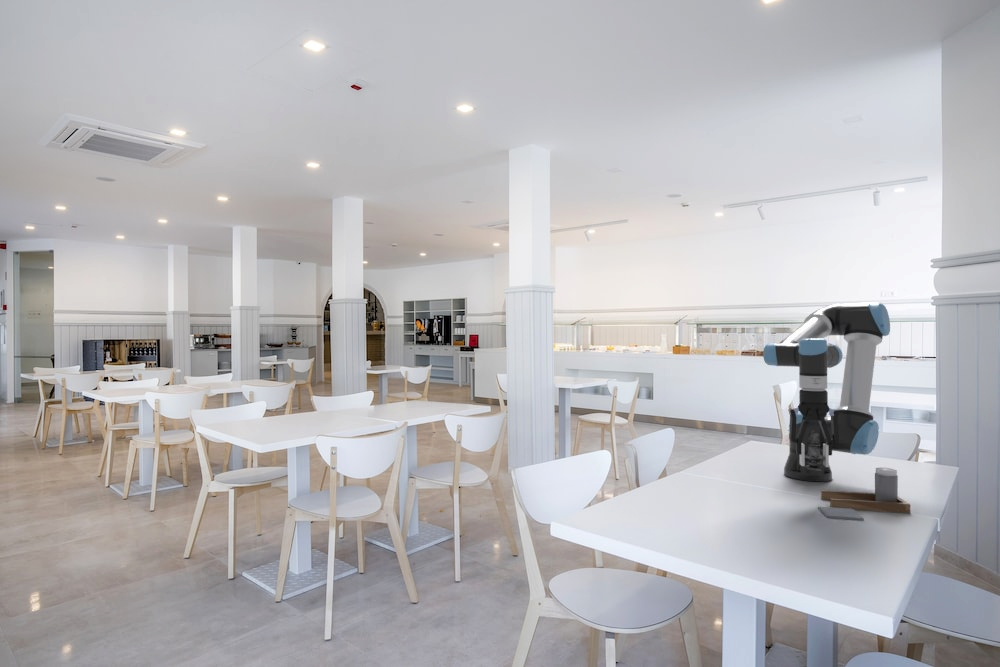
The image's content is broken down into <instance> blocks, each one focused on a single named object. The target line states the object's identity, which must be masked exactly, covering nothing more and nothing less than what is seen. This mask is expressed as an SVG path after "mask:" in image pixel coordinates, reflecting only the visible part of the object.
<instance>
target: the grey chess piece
mask: <svg viewBox="0 0 1000 667" xmlns="http://www.w3.org/2000/svg"><path fill="white" fill-rule="evenodd" d="M812 431H813V432H810V433H809V434H808V443H807V445H808V453H807V454H806V455H805V462H806V463H807V464H809V465H807V466H805V467H804V468H805V469H808V470H814V471H822V470H824V468H822V467H820V466H819V465H821V464H823V461H824V459H825V457H823V456H821V455H820V448H819V446H820V444H819V434H818V433H816V432H815V430H814V429H813V430H812Z"/></svg>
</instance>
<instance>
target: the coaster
mask: <svg viewBox="0 0 1000 667" xmlns="http://www.w3.org/2000/svg"><path fill="white" fill-rule="evenodd" d="M817 509H818V510H819V511H820V512H821V513H822V514H823V515H824V516H825V517H826V518H827V519H839V520H852V521H864V520H865V518H864V517H863V516H862V514H860V513H858V511H857V510H854V509H851V508H836V507H830V506H822V505H821V506H820V505H818V506H817Z"/></svg>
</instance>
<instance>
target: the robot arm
mask: <svg viewBox="0 0 1000 667" xmlns="http://www.w3.org/2000/svg"><path fill="white" fill-rule="evenodd" d="M890 332H891V321H890V316H889V312H888V309H887V307H886V306H885V304H883V303H881V302H870V301H869V302H860V303H859V302H858V303H857V302H856V303H834V304H830V305H826V306H824V307H822V308H819V309H817V310H815V311H814V312H812V313H810V314H809V315H808V316H807V317H805V319H804V320H803V323H802V324H801V325H799V327H797V328H796V329H795V330H794V331H792V332H791V333H789V335H787V336H786V337H785V338H784V339H783V340H781V341H780V342H777V343H776V342H773V343H772V342H771V343H766V344H765V346H764V347H763V351H762V354H763V355H762V356H763V360H764V363H765V364H766V365H768V366H773V367H774V366H775V367H798V368H799V369H798V370H799V371H798V372H799V374H798V375H799V376H798V377H799V379H798V380H799V382H798V383H799V384H798V387H799V388H800V390H799V396H798V397H799V398H798V399H799V401H798V402H799V404H798V406H797V407H796V408H789V409H788V413H789V414H788V415H789V423H788V424H789V425H788V428H789V434H788V440H789V441H788V442H789V443H788V444H789V446H788V447H789V452H788V453H789V454H788V457H787V460H786V462H785V465H784V468H783V474H784V476H786V477H788V478H791V479H795V480H800V481H807V482H827V481H831V480H832V479H833V472H832V469H831V466H830V462H829V460H830V459H829V458H830V456H833V452H840V453H849V454H852V455H869V454H870V453H872V451H874V450H875V448H876V446H877V443H878V439H879V434H880V432H879V429H880V427H879V423H878V422H877V421H875V420H874V415H873V414H872V413H871V412H870V404H871V403H870V402H871V394H872V386H873V379H874V378H873V377H874V368H875V360H876V352H877V346H878V345H879V344H881V343H882V342H883V337H887V336H888V335H890ZM829 336H843V339H844V341H845V342H846V343H847V347H846V348H847V349H846V356H845V364H844V370H843V379H842V386H841V387H842V388H841V394H840V402H839V403H840V404H839V407H838V408H837V407H836V409H835V408H830V406H829V404H828V402H829V400H828V399H829V398H828V390H827V389H828V369H830V368H831V369H832V368H834V367H836V366H837V365H839V364H840V363H841V362H842V360H843V351H842V349H841V348H840V347H839V346H838V345H837V344H834V343H828V342H827V339H825V338H827V337H829ZM828 413H829V415H828ZM813 429H814V430H815V432H816V433H818V434H819V444H820V446H819V448H820V455H821V456H823V457H825V459H824V461H823V464H821V465H819V466H820V467H822V468H824V470H822V471H814V470H808V469H805V468H804V467H805V466H807V465H809V464H807V463H806V462H805V455H806V454H807V453H808V445H807V443H808V434H809V433H810V432H813V431H812V430H813Z"/></svg>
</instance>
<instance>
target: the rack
mask: <svg viewBox="0 0 1000 667" xmlns="http://www.w3.org/2000/svg"><path fill="white" fill-rule="evenodd" d="M820 499H821V500H825V501H826V500H829V503H830V505H829V507H836V508H851V509H853V510H855V511H873V512H885V513H902V514H911V504H910V503H909V502H907V501H906V500H904V499H903V498H901V497H899V496H898V503H897V502H881V501H875V492H874V493H873V492H861V491H860V492H858V491H844V490H843V491H842V490H841V491H839V490H828V489H827V490H824V489H820Z"/></svg>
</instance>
